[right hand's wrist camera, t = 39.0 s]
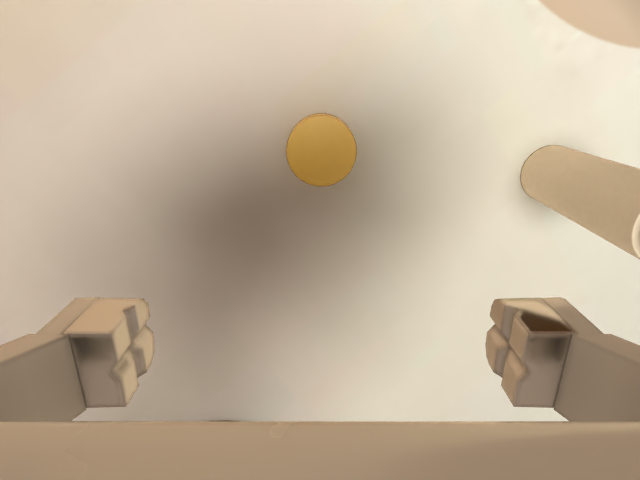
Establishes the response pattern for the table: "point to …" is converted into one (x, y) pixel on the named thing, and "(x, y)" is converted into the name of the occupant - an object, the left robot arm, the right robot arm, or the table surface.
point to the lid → (321, 150)
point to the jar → (588, 192)
